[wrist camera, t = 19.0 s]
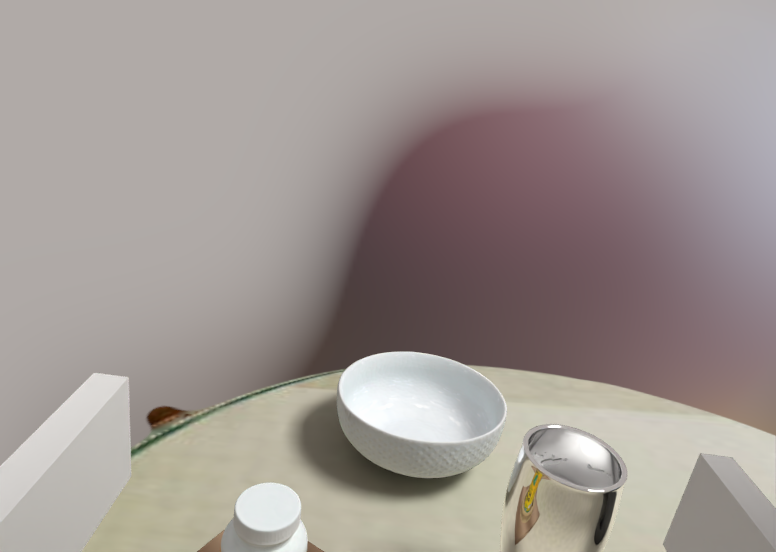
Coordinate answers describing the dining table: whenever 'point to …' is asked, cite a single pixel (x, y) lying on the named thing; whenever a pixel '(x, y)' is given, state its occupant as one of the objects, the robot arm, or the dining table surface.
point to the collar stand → (213, 547)
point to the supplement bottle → (266, 521)
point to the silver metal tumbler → (562, 492)
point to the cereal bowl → (420, 413)
